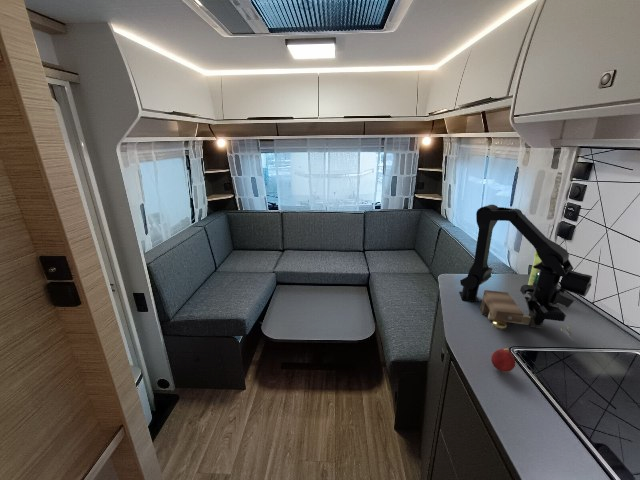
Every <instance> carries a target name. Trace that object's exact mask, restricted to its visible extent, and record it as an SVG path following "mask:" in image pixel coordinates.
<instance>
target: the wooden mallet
mask: <svg viewBox="0 0 640 480" xmlns="http://www.w3.org/2000/svg"><path fill="white" fill-rule="evenodd" d="M487 319H488V320H490V321H493V320H494V317H493V315H492V314H491V312H490V311H489V315H487ZM544 321H545V320H544ZM544 321H543V322H542V323H541V324H540V325H536V324H535V319H534V310H530V312H529V311H528V315H525V314H524V315H523V318H522V321H521V323H519V322H510V321H504V322H506V323H514V324H522V325H528V326H529V327H530V328H539V329H542V327H543V324H544Z"/></svg>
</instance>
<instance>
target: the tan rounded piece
mask: <svg viewBox="0 0 640 480" xmlns="http://www.w3.org/2000/svg"><path fill="white" fill-rule="evenodd" d="M492 324H493V325H492ZM491 325H492V326H493V327H494V328H495V327H496V328H495V329H497V328H498V330H501V329H502V330H501V331H503V330H504V329H505V330H506V329H507V326H508V322H504V321H502V320H495V319H494V320H492V323H491Z"/></svg>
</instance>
